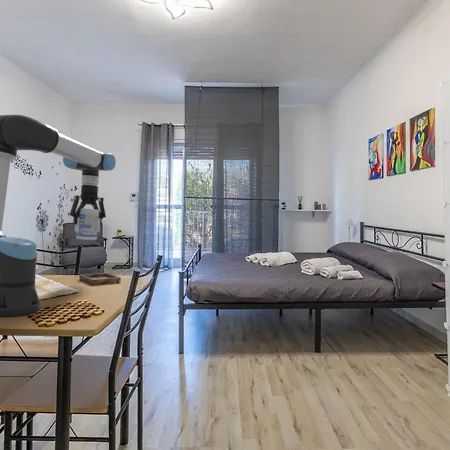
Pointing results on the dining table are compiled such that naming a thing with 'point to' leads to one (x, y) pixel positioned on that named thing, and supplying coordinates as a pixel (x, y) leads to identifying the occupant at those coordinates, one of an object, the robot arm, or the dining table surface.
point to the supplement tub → (88, 224)
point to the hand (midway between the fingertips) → (87, 231)
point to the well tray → (99, 278)
